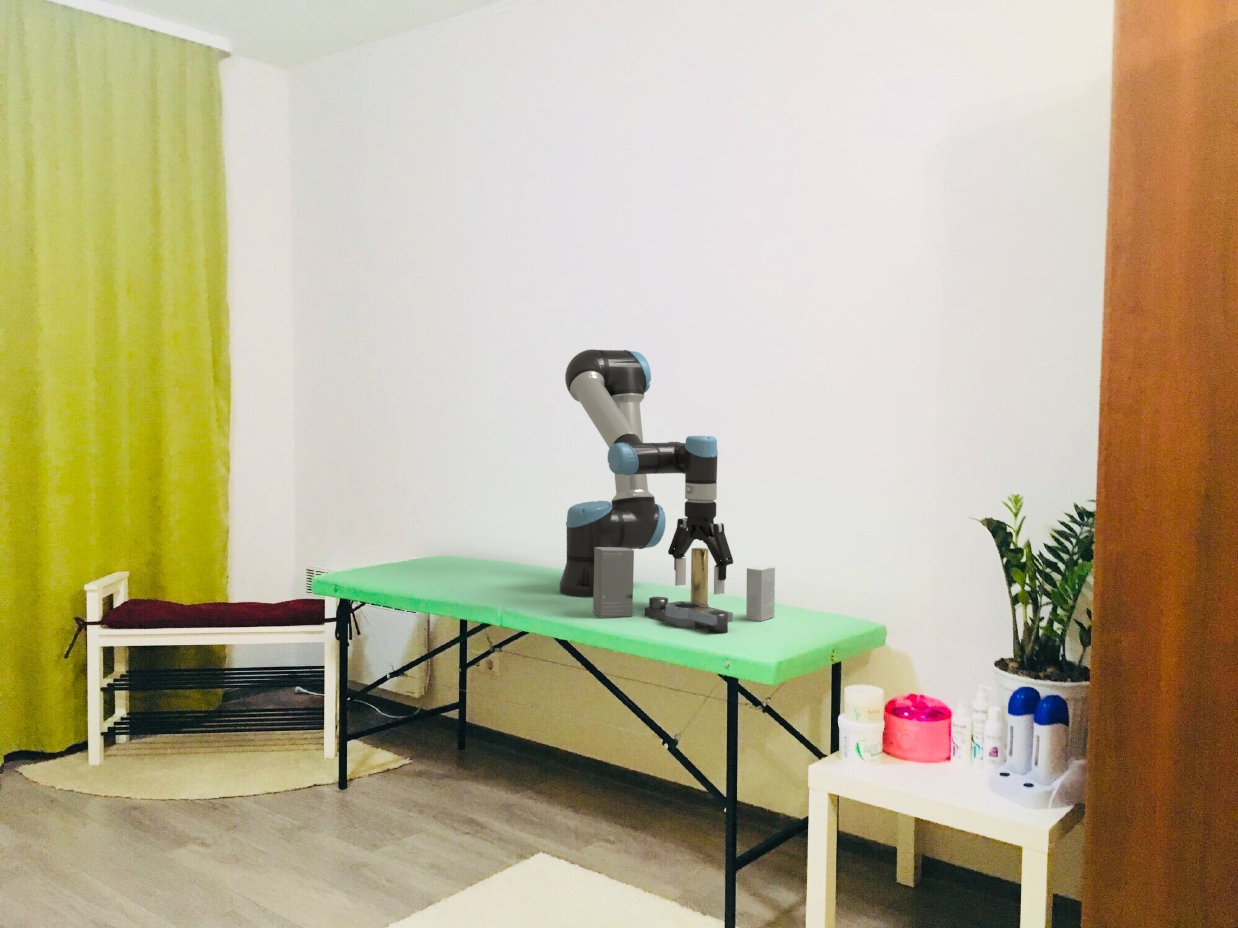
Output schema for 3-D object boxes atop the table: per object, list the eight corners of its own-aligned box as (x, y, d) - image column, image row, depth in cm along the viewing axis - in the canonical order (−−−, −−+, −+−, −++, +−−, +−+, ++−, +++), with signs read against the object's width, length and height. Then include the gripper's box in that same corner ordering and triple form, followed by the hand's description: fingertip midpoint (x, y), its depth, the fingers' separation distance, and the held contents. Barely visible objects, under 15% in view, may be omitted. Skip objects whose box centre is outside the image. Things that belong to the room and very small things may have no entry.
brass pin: (687, 610, 245) (688, 548, 244) (699, 608, 247) (700, 547, 246) (698, 613, 242) (699, 550, 241) (710, 611, 244) (711, 549, 243)
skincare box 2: (759, 614, 241) (760, 564, 240) (774, 617, 238) (775, 566, 238) (745, 619, 236) (746, 567, 236) (761, 621, 234) (762, 569, 233)
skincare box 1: (599, 618, 235) (600, 550, 234) (591, 612, 242) (592, 545, 241) (634, 616, 238) (635, 549, 237) (626, 610, 245) (626, 544, 244)
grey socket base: (636, 616, 238) (636, 599, 238) (667, 611, 244) (667, 594, 244) (708, 635, 219) (708, 617, 219) (740, 630, 225) (740, 612, 225)
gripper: (654, 497, 250) (653, 583, 252) (725, 506, 231) (724, 599, 232) (677, 495, 255) (676, 580, 256) (749, 504, 235) (747, 595, 237)
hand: (699, 589), depth 244 cm, fingers open, 13 cm apart
